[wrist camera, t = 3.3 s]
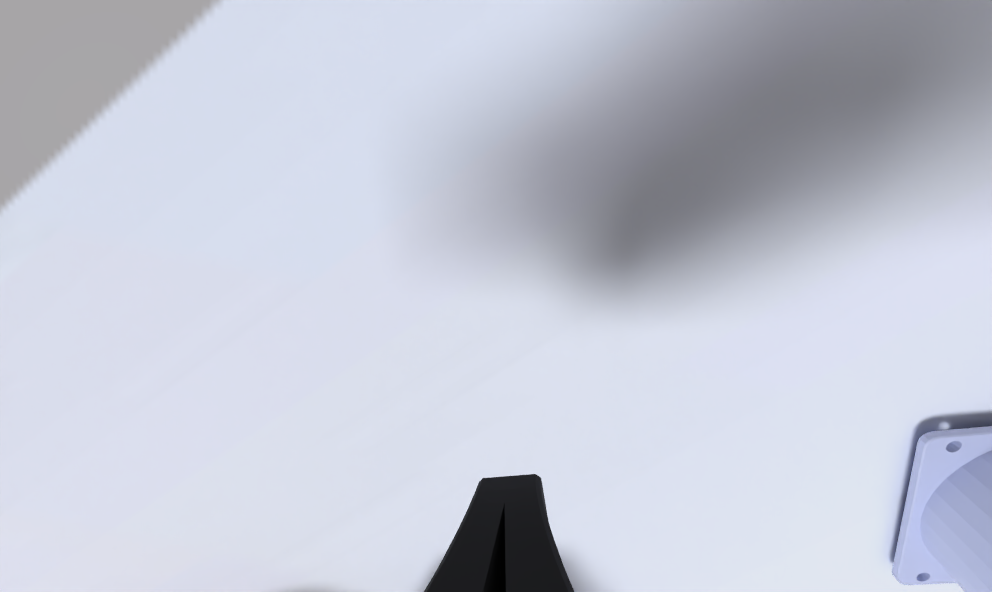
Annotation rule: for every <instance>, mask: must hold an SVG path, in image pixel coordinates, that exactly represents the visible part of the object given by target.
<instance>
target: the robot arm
mask: <svg viewBox="0 0 992 592" xmlns="http://www.w3.org/2000/svg"><path fill="white" fill-rule="evenodd" d="M892 574H893V575H894V577H895V578H896V579H897V581H898V582H899V583H901V584H904V585H919V584H940V583H958V585H959V586H960V587H961V588H962V589H963V590H964V591H965V592H992V426H987V427H975V428H964V429H952V430H940V431H932V432H927V433H925V434H924V435H922V436H921V437H920V438H919V440H918V443H917V447H916V452H915V457H914V462H913V467H912V472H911V477H910V482H909V487H908V493H907V498H906V503H905V508H904V513H903V518H902V523H901V528H900V533H899V538H898V543H897V548H896V553H895V558H894V563H893V568H892ZM424 592H574V590H573V588H572V585H571V583H570V581H569V578H568V576H567V573H566V571H565V568H564V566H563V563H562V561H561V558H560V555H559V552H558V549H557V547H556V544H555V541H554V538H553V535H552V532H551V529H550V526H549V522H548V517H547V511H546V505H545V499H544V493H543V487H542V481H541V478H540V477H539V476H537V475H536V474H531V475H519V476H506V477H493V478H483V479H482V480H481V481H480V482H479V484H478V486H477V489H476V491H475V494H474V496H473V498H472V501H471V503H470V505H469V508H468V510H467V512H466V514H465V516H464V518H463V521H462V523H461V525H460V527H459V529H458V531H457V533H456V535H455V537H454V539H453V541H452V543H451V544H450V546H449V548H448V550H447V552H446V554H445V556H444V558H443V560H442V562H441V563H440V565H439V567H438V569H437V571H436V572H435V574H434V576H433V577H432V579H431V581H430V583H429V584H428V586H427V588H426V589H425V591H424Z"/></svg>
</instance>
